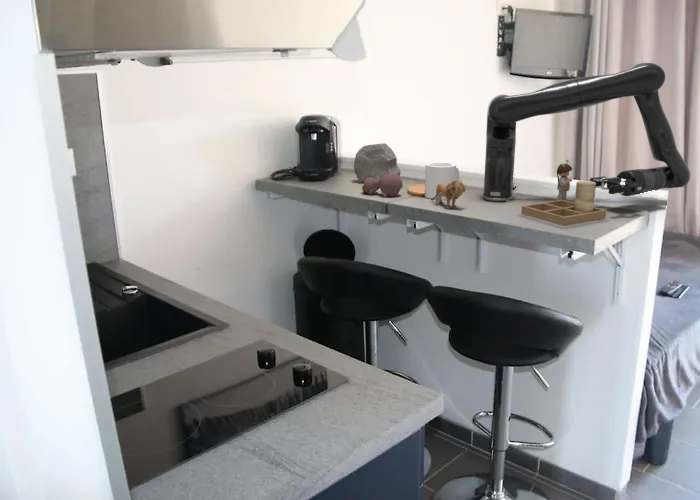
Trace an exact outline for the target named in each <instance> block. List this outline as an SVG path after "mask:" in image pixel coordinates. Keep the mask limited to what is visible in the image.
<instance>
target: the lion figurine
mask: <svg viewBox="0 0 700 500" xmlns="http://www.w3.org/2000/svg"><path fill="white" fill-rule="evenodd" d="M467 190H468V187H467V186H466V185H465V184H464V182H463V180H462V179H460V180H456V181H454V182H452V183H449V184H448V186H446V185H445V184H444V183H440V184H438V185H437V188H436V195H435V197H434V198H432V199H431V198H430V200H431V201H434V200H435V202H434V203H435V205H436V206H437V205H440V203H443V199H441V198H442V196H444V197H445V198H446V199H445V200H446V209H447V210H450V209H451V208H454V209H455V208H457V204H455V203H456V201H457V200H458V199H459V197H461V196H462V195H463V193H466V191H467ZM440 192H441V194H440ZM439 194H440V195H439ZM438 197H439V199H438ZM435 198H436V199H435ZM450 203H451V204H450Z"/></svg>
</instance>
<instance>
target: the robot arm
mask: <svg viewBox="0 0 700 500" xmlns="http://www.w3.org/2000/svg"><path fill="white" fill-rule="evenodd" d="M665 81H666V72H665V70H664V69H663V67H661V66H660V65H659V64H656V63H653V62H640V63H636V64H635V65H634V66H632V67H631V68H629V69H626V70H622V71H619V72H616V73H615V72H614V73H611V74H610V73H609V74H601V75H600V74H599V75H590V76H582V77H576V78H572V79H568V80H563V81H560V82H557V83H554V84H551V85H548V86H545V87H543V88H541V89H538V90H535V91H531V92H527V93H520V94H513V95H508V94H498V95H495V96H494V97H493V98H492V99H491V100H490V101H489V103H488V105H487V111H486V112H487V113H486V114H487V115H486V131H485V132H486V134H485V156H484V157H485V159H484V175H483V176H484V178H483V193H482V199H483V200H486V201H490V202H507V201H511V200H513V191H514V189H515V188H514V187H513V186H514V185H513V182H514V177H513V175H514V176H515V174H514V172H515V158H516V143H517V122H520V121H523V120H527V119H530V118H534V117H538V116H546V115H555V114H561V113H567V112H572V111H577V110H581V109H585V108H589V107H592V106H596V105H599V104H602V103H606V102H609V101H612V100H616V99H621V98H628V97H633V98H634V100H635V103H636V105H637V109H638V110H639V113H640V115H641V119H642V123H643V126H644V130H645V134H646V138H647V140H648V142H647V143H648V146H649V149H650V152H651V156H652V158H653V160H655V161H657V162H661V163H662V162H663V163H665V165H664V166H657V167H650V168H649V167H648V168H635V169H629V170H628V169H627V170H623V171H620V172H619V173H618V174H617V175H616V176H611V177H607V176H605V175H603V176H595V177H590V178H589V181H592V182H595V183H596V189H601V190H602V191H608V194H609V195H615V194H619V195H620V196H623V197H630V196H636V195H637V194H638V195H641V194H640V193H643V194H645V193H644V192H646V193H649V192H648V191H651V192H653V191H652V190H655V191H659V190H667V189H677V188H678V189H679V188H684V187H686V186H687V185H688V184H689V182H690V180H691V171H690V168H689V166H688V164H687V163H686V161H685V160H684V158H683V157H682V155H681V153H680V152H679V150H678V148H677V144H676V140H675V136H674V133H673V130H672V126H671V124H670V122H669V120H668V118H667V116H666V113H665V111H664V109H663V105H662V103H661V100H660V94H659V90H660V89H662V87H663V85H664V84H665ZM655 191H654V192H655ZM638 195H637V196H638Z"/></svg>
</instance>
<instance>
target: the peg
mask: <svg viewBox="0 0 700 500" xmlns="http://www.w3.org/2000/svg"><path fill="white" fill-rule="evenodd" d="M596 189H597V188H596V183H595V182H592V181H590V180H577V181H576V185H575V193H574V195H575V197H574V203H575V204H574V211H578V212H582V213H589V212H593V209H594V207H595V199H596V198H595V197H596Z"/></svg>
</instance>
